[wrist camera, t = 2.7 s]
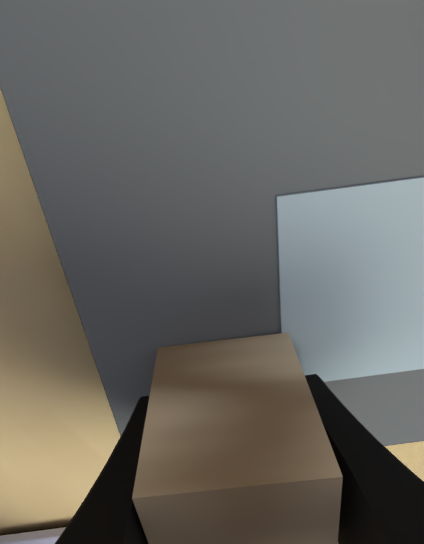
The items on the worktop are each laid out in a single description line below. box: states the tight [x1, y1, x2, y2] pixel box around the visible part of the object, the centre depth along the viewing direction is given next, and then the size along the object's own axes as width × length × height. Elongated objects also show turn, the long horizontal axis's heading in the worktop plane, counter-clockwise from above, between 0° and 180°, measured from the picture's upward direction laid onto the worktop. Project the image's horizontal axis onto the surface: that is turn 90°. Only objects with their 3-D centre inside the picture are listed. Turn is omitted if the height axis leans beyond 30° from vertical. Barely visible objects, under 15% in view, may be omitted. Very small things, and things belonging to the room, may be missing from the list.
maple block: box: [132, 333, 343, 544], centre depth 9 cm, size 4×4×4 cm
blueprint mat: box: [0, 0, 424, 446], centre depth 10 cm, size 17×17×1 cm
